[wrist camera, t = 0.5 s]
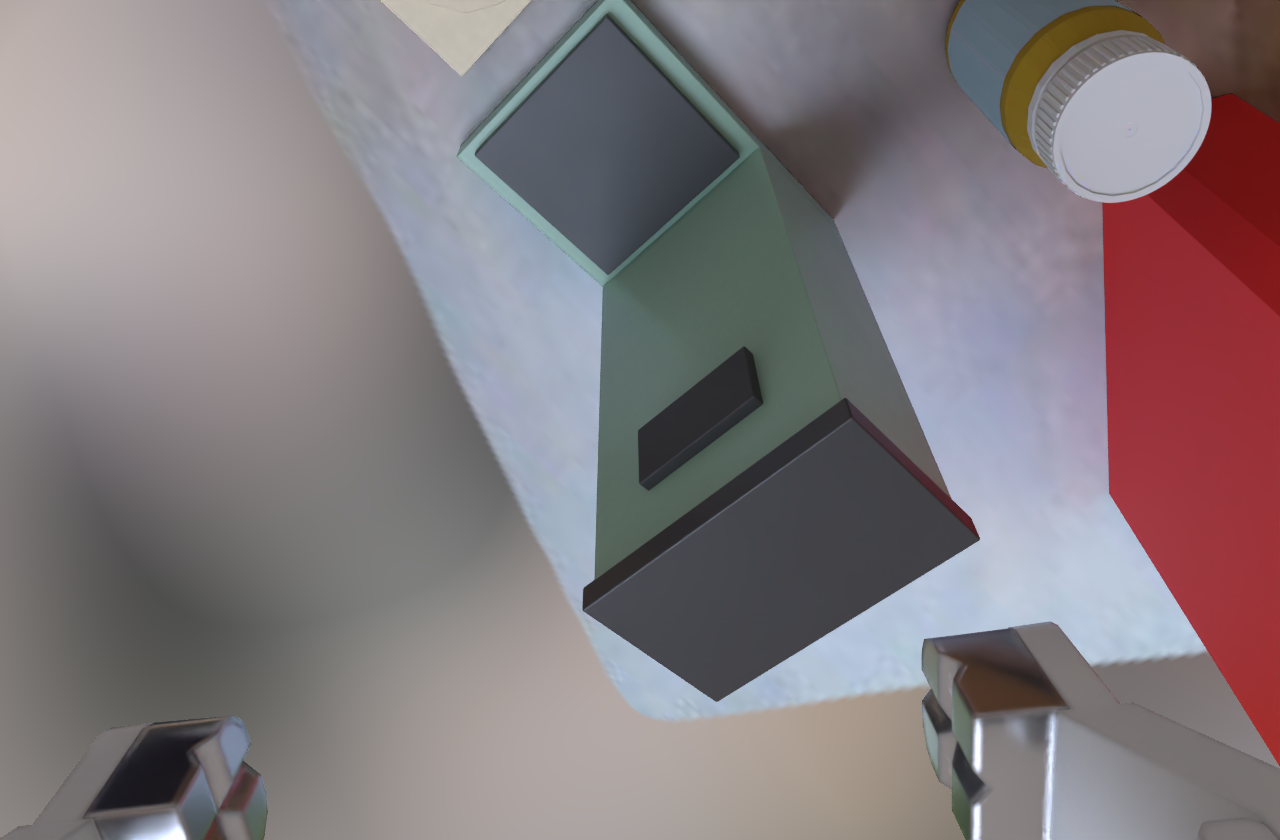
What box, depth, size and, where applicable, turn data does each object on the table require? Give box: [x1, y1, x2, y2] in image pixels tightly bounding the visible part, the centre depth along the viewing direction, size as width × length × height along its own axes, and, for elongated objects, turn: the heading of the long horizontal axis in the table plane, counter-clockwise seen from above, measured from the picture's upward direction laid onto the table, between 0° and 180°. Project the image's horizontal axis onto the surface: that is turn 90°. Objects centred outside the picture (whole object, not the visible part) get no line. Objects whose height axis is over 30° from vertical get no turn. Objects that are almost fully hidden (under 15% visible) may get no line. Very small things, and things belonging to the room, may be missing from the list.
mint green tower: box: [457, 0, 980, 702], centre depth 45 cm, size 13×18×27 cm
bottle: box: [945, 0, 1212, 203], centre depth 45 cm, size 7×7×15 cm
